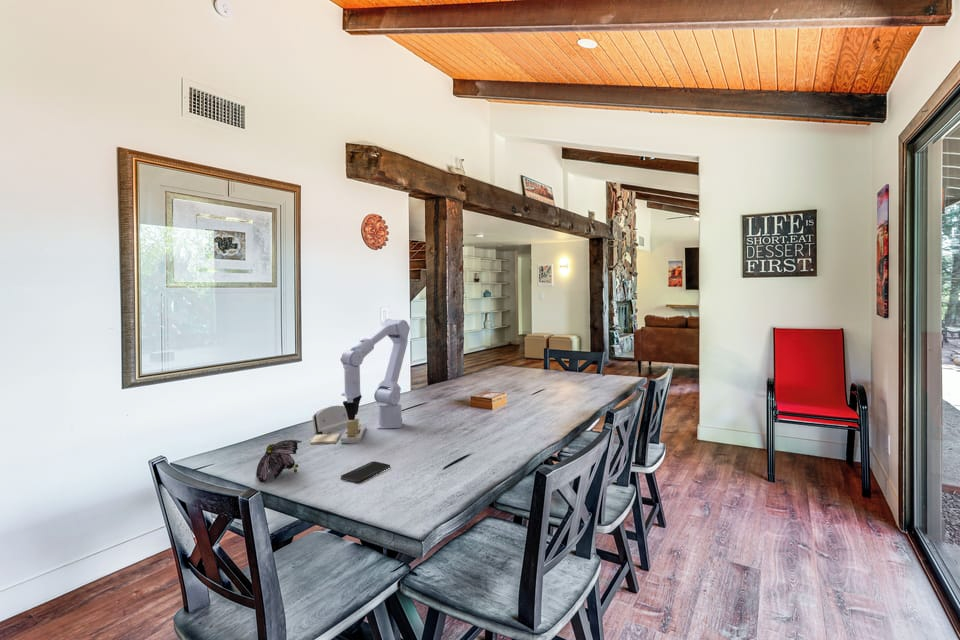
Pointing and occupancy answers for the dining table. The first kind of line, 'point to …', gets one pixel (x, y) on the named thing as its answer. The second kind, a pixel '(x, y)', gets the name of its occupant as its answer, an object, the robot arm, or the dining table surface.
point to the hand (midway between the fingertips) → (353, 417)
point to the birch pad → (325, 438)
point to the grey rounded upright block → (330, 419)
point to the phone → (365, 472)
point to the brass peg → (353, 426)
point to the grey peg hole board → (353, 435)
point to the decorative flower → (277, 459)
